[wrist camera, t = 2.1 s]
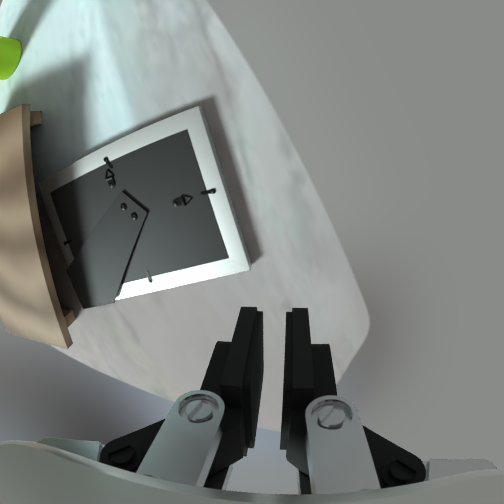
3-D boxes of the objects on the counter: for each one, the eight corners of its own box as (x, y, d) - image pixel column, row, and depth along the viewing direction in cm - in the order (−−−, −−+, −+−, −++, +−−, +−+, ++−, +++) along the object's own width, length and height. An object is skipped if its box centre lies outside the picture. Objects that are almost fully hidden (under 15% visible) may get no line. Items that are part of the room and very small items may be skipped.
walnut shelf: (-3, 128, 28) (-36, 132, 22) (59, 105, 27) (21, 104, 21) (31, 311, 37) (6, 332, 32) (92, 321, 36) (67, 348, 30)
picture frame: (94, 298, 35) (252, 261, 31) (83, 309, 33) (249, 273, 29) (49, 180, 31) (204, 107, 27) (33, 184, 28) (196, 104, 24)
